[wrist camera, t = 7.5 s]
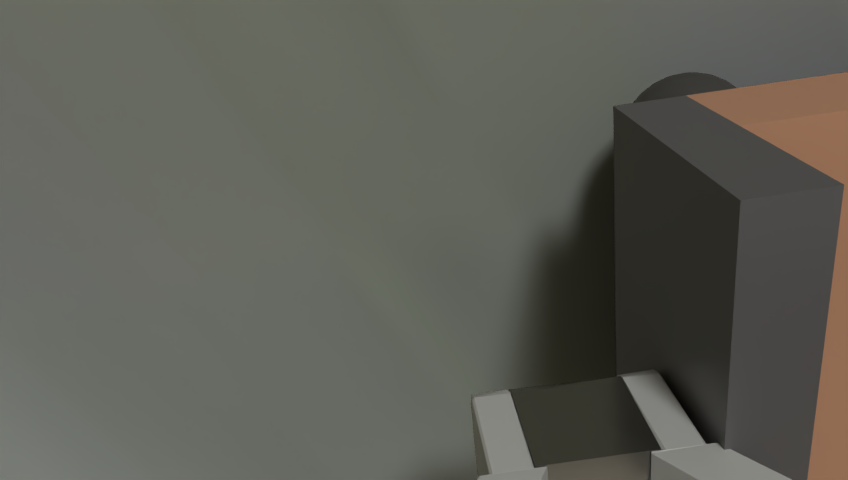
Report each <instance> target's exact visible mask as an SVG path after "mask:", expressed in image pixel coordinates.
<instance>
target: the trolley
mask: <svg viewBox="0 0 848 480" xmlns="http://www.w3.org/2000/svg"><path fill="white" fill-rule="evenodd" d="M613 111H614V207H615V303H616V376H617V375H621V374H627V373H633V372H639V371H645V370H651V369H654V370H656V371H658V372H659V373H660V374H661V376H662V377H663V379H664V380H665V382H666V383H667V385H668V386H669V388H670V389H671V391H672V393H673V394H674V396H675V397H676V399H677V400H678V402H679V403H680V405H681V406H682V408H683V409H684V411H685V412H686V414H687V415H688V417H689V418H690V420H691V421H692V423H693V424H694V426H695V427H696V429H697V430H698V432H699V433H700V435H701V437H702V438H703V440H704V441H705V443H706V444H711V443H719V444H720V445H721V446H722V447H723V449H724V450H726V449H731V450H733V451H735V452H737V453H739V454H741V455H743V456H745V457H747V458H749V459H751V460H753V461H755V462H757V463H759V464H761V465H763V466H765V467H767V468H770V469H772V470H774V471H776V472H778V473H780V474H782V475H784V476H786V477H788V478H790V479H792V480H848V72H845V73H838V74H831V75H824V76H817V77H810V78H803V79H796V80H790V81H783V82H776V83H769V84H762V85H755V86H748V87H741V88H736V87H735V86H733V85H732V84H730V83H729V82H727V81H726V80H723V79H721V78H719V77H716V76H713V75H710V74H703V73H682V74H677V75H672V76H669V77H666V78H664V79H662V80H660V81H658V82H656V83H654V84H653V85H651V86H650V87H649V88H647V89H646V90H645V91H644V92H642V93H641V94H640V95H639V97H638V98H637V99H636V100H635V101H634V102H633V103H631V104H624V105H617V106H613Z"/></svg>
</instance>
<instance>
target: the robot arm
mask: <svg viewBox="0 0 848 480" xmlns="http://www.w3.org/2000/svg"><path fill="white" fill-rule="evenodd" d="M471 411H472V422H473V433H474V443H475V454H476V464H477V472H478V478H477V480H792V479H790V478H788V477H786V476H784V475H782V474H780V473H778V472H776V471H774V470H772V469H770V468H767V467H765V466H763V465H761V464H759V463H757V462H755V461H753V460H751V459H749V458H747V457H745V456H743V455H741V454H739V453H737V452H735V451H733V450H731V449H726V450H724V449H723V447H722V446H721V445H720V444H719V443H711V444H706V443H705V441H704V440H703V438H702V437H701V435H700V433H699V432H698V430H697V429H696V427H695V426H694V424H693V423H692V421H691V420H690V418H689V417H688V415H687V414H686V412H685V411H684V409H683V408H682V406H681V405H680V403H679V402H678V400H677V399H676V397H675V396H674V394H673V393H672V391H671V389H670V388H669V386H668V385H667V383H666V382H665V380H664V379H663V377H662V376H661V374H660V373H659V372H658V371H656V370H654V369H651V370H645V371H639V372H633V373H627V374H621V375H617V376H616V377H609V378H602V379H595V380H588V381H582V382H581V381H578V382H569V383H560V384H552V385H543V386H534V387H525V388H517V389H509V391H508V390H500V391H493V392H485V393H478V394H471Z"/></svg>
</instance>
